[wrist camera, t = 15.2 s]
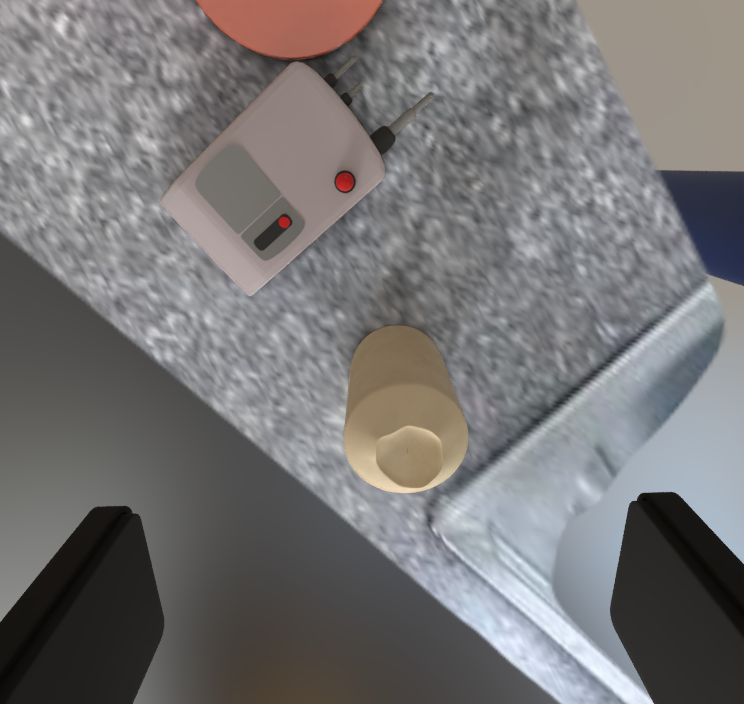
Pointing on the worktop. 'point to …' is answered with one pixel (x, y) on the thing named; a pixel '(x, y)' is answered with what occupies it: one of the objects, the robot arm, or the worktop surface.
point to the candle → (402, 413)
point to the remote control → (280, 175)
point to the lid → (291, 24)
